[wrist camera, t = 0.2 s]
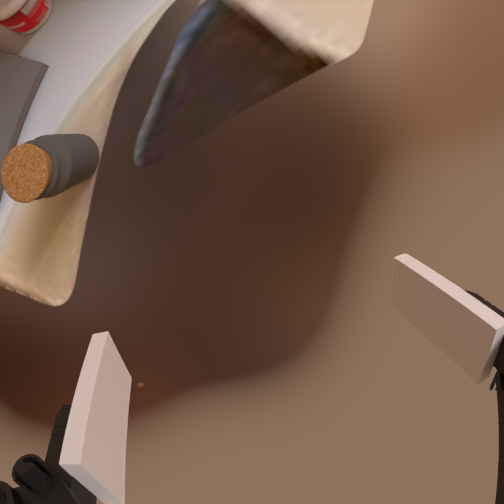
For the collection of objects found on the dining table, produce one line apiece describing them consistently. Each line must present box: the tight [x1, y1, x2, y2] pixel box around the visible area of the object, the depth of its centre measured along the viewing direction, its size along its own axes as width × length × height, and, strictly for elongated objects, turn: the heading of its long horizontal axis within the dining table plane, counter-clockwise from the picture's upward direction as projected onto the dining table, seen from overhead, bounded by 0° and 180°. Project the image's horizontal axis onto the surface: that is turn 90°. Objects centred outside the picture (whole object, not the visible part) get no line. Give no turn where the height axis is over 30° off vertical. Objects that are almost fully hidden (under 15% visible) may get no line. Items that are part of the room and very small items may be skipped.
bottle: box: [1, 134, 99, 203], centre depth 26 cm, size 6×6×15 cm
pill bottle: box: [0, 0, 52, 34], centre depth 19 cm, size 6×6×11 cm
